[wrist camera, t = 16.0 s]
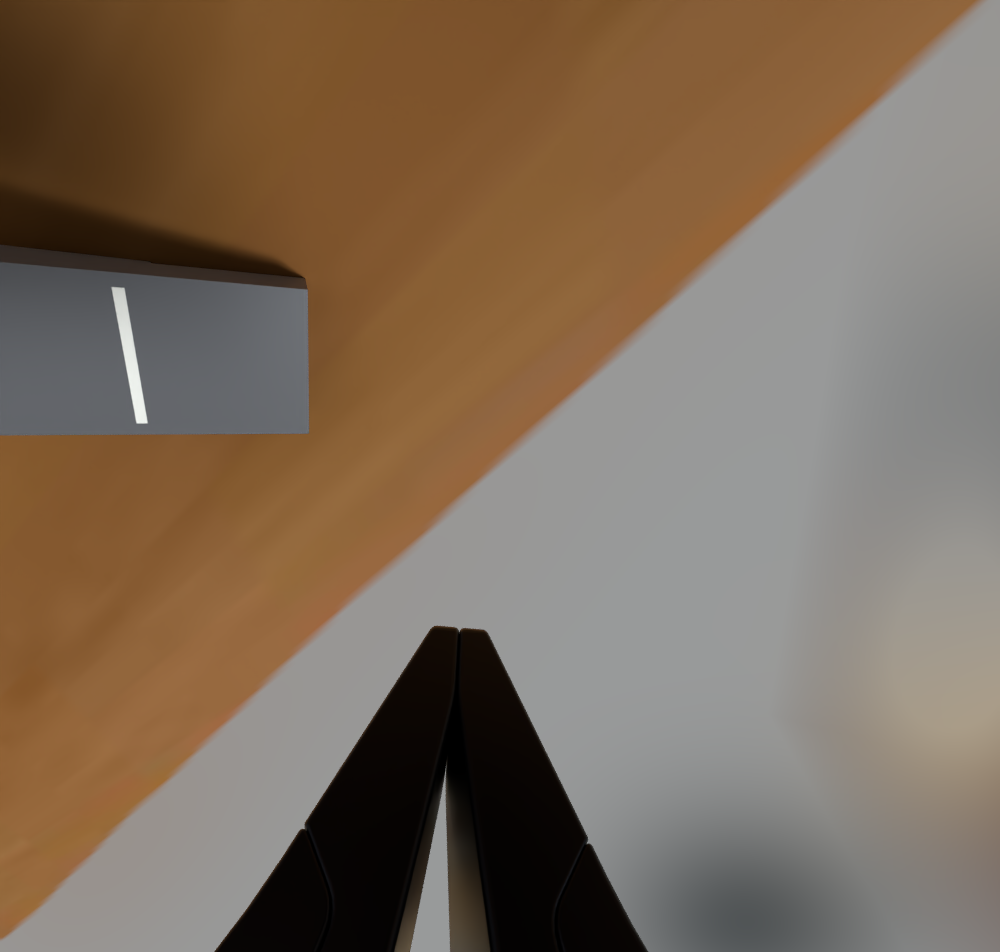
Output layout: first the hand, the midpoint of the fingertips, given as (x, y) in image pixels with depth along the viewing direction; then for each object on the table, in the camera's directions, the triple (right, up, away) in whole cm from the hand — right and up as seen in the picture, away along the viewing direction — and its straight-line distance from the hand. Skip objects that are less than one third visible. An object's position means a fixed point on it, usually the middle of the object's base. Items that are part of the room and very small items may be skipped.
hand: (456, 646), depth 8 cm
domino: (-6, +7, +10) cm, 14 cm away
